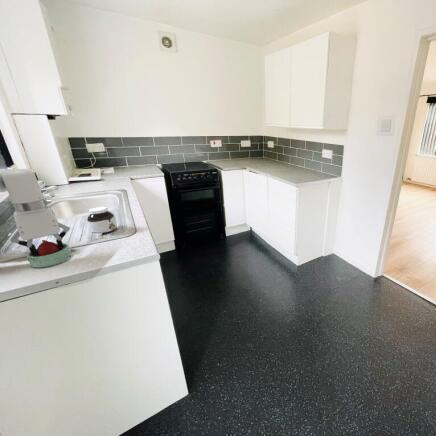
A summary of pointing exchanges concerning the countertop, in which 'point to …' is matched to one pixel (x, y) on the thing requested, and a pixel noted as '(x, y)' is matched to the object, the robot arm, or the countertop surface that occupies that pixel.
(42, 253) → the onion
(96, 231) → the spread jar
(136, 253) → the countertop surface
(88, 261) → the countertop surface
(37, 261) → the green shallow round dish
